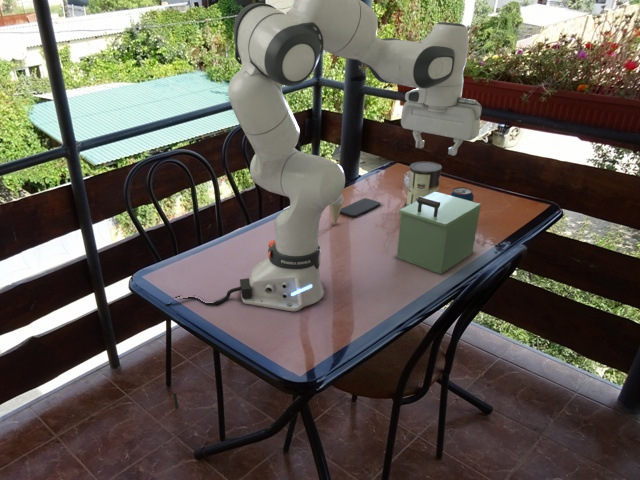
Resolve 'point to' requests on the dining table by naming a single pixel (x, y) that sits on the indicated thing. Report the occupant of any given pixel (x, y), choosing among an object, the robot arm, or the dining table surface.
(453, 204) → the lid
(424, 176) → the coffee can
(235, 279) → the dining table surface
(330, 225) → the dining table surface
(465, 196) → the soda can
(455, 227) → the box
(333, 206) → the ice cream cone
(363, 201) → the phone
